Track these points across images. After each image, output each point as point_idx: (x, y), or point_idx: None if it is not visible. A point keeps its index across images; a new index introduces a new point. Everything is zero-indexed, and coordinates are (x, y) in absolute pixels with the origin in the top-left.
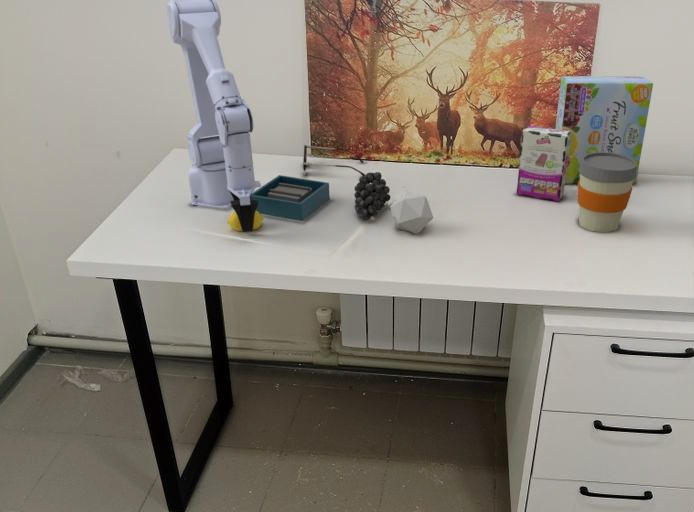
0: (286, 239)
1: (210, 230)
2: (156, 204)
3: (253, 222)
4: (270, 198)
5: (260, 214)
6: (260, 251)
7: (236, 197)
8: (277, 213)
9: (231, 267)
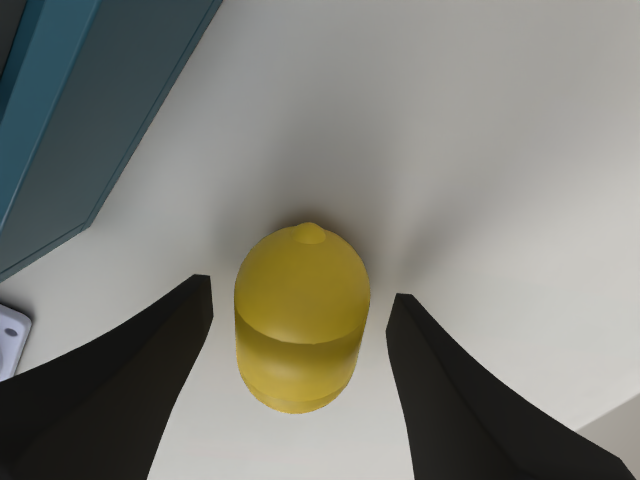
0: (538, 103)
1: None
2: None
3: (441, 327)
4: (25, 134)
5: (306, 258)
6: (580, 273)
7: (147, 448)
8: (158, 74)
9: (626, 383)
